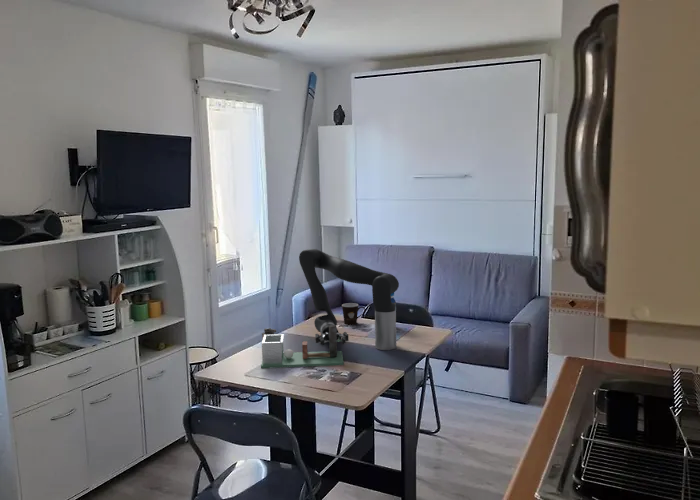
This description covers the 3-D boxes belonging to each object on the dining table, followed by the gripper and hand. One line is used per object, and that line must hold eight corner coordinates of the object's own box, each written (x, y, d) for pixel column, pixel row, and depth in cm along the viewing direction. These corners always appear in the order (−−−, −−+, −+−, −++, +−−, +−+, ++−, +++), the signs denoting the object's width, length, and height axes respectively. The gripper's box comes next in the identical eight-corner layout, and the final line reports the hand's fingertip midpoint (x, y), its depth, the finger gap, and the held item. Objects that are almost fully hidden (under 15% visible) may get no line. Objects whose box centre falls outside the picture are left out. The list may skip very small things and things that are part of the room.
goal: (284, 354, 252) (284, 334, 251) (283, 363, 240) (282, 342, 239) (265, 354, 252) (264, 334, 251) (262, 364, 240) (261, 343, 239)
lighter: (260, 349, 262) (260, 328, 261) (265, 347, 265) (264, 326, 264) (275, 352, 259) (274, 330, 257) (280, 350, 261) (279, 328, 260)
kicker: (336, 353, 250) (336, 324, 248) (337, 357, 245) (336, 327, 243) (302, 355, 249) (302, 325, 247) (302, 358, 244) (301, 328, 242)
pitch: (341, 353, 256) (341, 350, 256) (343, 365, 240) (343, 362, 240) (264, 355, 254) (264, 353, 254) (261, 368, 238) (260, 365, 238)
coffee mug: (340, 325, 301) (339, 306, 300) (345, 321, 309) (344, 302, 308) (361, 326, 298) (361, 307, 296) (366, 322, 306) (365, 303, 305)
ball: (293, 356, 248) (293, 347, 248) (293, 359, 245) (292, 350, 244) (284, 357, 248) (283, 348, 248) (283, 360, 244) (283, 351, 244)
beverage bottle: (396, 325, 298) (396, 287, 296) (396, 330, 290) (395, 291, 287) (379, 325, 299) (379, 287, 296) (379, 330, 291) (378, 291, 288)
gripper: (313, 324, 259) (316, 334, 243) (344, 322, 261) (350, 332, 245) (313, 340, 260) (316, 352, 244) (345, 339, 262) (350, 349, 246)
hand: (333, 342), depth 245 cm, fingers open, 8 cm apart
